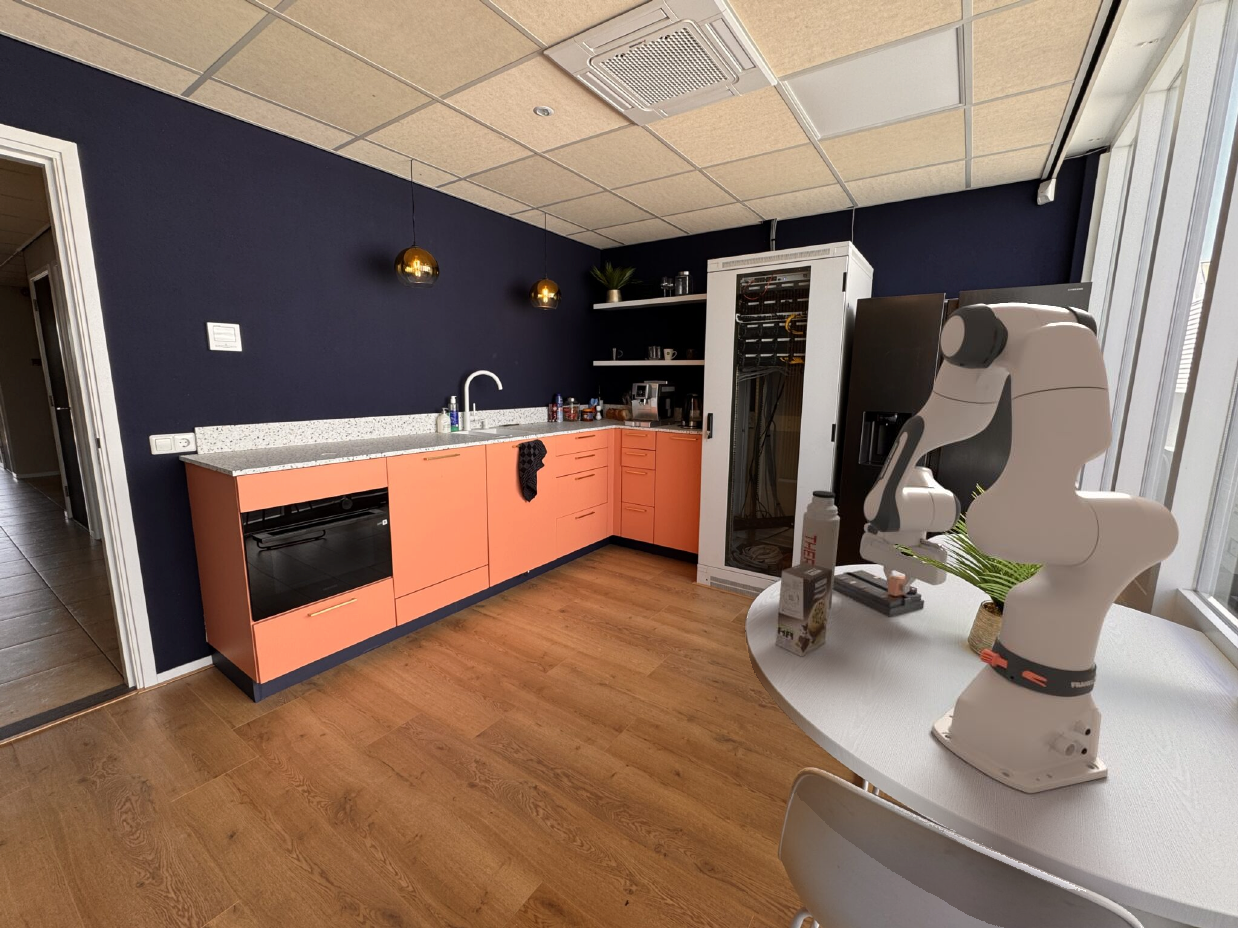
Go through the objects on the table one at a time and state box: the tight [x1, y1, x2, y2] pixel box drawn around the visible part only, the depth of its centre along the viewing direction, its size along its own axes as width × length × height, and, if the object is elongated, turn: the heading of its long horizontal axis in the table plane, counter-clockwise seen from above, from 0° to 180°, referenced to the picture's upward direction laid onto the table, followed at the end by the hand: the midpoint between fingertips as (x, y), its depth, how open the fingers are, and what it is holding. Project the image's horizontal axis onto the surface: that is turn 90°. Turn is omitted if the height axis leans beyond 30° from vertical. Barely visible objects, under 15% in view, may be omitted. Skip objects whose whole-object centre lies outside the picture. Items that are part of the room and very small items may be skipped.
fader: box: [888, 574, 907, 598], centre depth 122 cm, size 4×2×6 cm, turn 115°
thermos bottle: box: [799, 490, 841, 611], centre depth 122 cm, size 8×8×28 cm
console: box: [833, 569, 925, 618], centre depth 128 cm, size 12×18×4 cm, turn 25°
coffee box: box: [775, 562, 832, 657], centre depth 104 cm, size 9×6×16 cm
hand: (897, 588), depth 122 cm, fingers closed on fader, 2 cm apart
